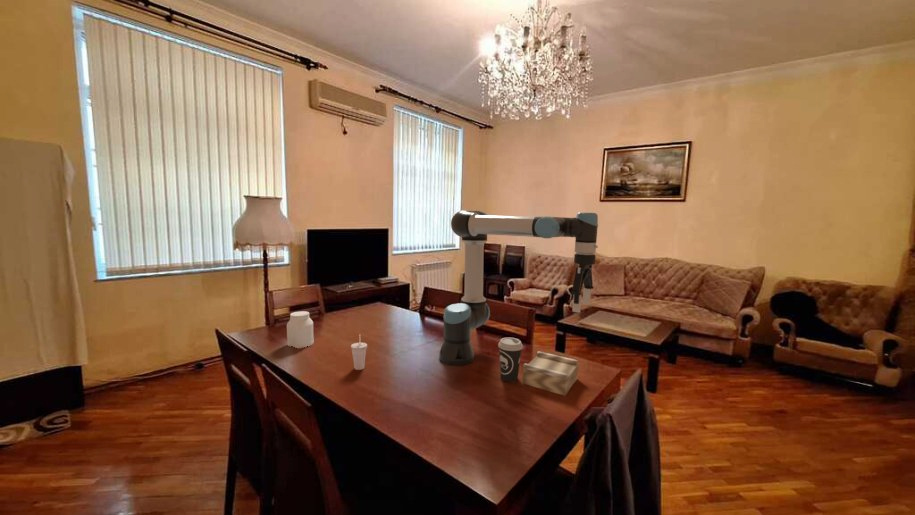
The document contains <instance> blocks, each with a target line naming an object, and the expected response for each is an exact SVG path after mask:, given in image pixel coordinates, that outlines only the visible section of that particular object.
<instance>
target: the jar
mask: <svg viewBox="0 0 915 515" xmlns="http://www.w3.org/2000/svg"><path fill="white" fill-rule="evenodd" d="M289 318H290V319H289V320H288V322H287V324H286V336H287V337H286V338H287V339H286V340H287V343H286V344H287V345H288V347H291V346H293V347H292V348H294V347H295V349H296V348H297V349H303V348H302V347H305V348H308V347H311V346H312V345H314V342H315V340H314V321H313V320H312V318H310V312H309V311H306V310H304V311H302V310H301V311H294V312H291V313H290V314H289ZM310 345H311V346H310ZM307 346H308V347H307Z"/></svg>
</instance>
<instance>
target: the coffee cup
mask: <svg viewBox="0 0 915 515" xmlns="http://www.w3.org/2000/svg"><path fill="white" fill-rule="evenodd" d="M497 344H498V345H497V347H498V350H499V352H498V353H499V369H500V370H499V372H500V379H501V381H503V382H507V383H514V382H517V381H518V379H519V371H520V364H521V363H520V362H521V354H522V350H523V349H524V345H523V344H522V341H521V340H520V339H519V338H515V337H503V338H500V340H499V342H498V343H497Z"/></svg>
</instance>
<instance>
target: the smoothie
mask: <svg viewBox="0 0 915 515" xmlns="http://www.w3.org/2000/svg"><path fill="white" fill-rule="evenodd" d="M358 336H359V337H358V339H359V342H354V343H352V344H351V345H350V349H351V353H352V359H353V366H354V370H356V371H361V370H364V369H365V363H366V354H367V348H368V344H367V343H366V342H362V341H361V339H362V338H361V337H362V336H361V333H360V334H359V335H358Z"/></svg>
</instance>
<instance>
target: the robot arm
mask: <svg viewBox="0 0 915 515" xmlns="http://www.w3.org/2000/svg"><path fill="white" fill-rule="evenodd" d="M598 217H599V216H598V213H595V212H577V214H576V217H563V216H561V217H560V216H559V217H556V216H528V215H527V216H521V215H520V216H519V215H488V214H487V213H486V212H484V211H480V210H463V209H462V210H459V211H457V212H456V213H454V215H452V218H451V220H450V227H451V230H452V232H453V233H454V234H455V235H456V236H458V237H460V238H461V242H463V244H464V295H463V296H462V297H461V300H460V303H459V302H458V303H452V304H450V305H448V306H446V307H445V308H444V311H443V312H444V313H443V342H442V343H441V344H442V345H441V348H440V351H439V354H438V355H439V356H438V357H439V360H440V362H441V363H444V364H445V365H450V366H465V365H468V364H471V363H473V361H474V359H475V358H474V357H475V353H474V351H473V348H472V344H471V331H473V330H475V329H477V328H480V327H482V326H483V325H485V324H486V323H487V322H488V320H489V318H490V316H491V309H490V306H488V303H487V298H486V297H485V296H484V257H485V256H484V252H485V250H484V248H485V247H484V246H485V244H486V243H487V241H488V235H493V236H509V237H510V236H511V237H528V238H529V237H530V238H542V239H553V238H575V240H574V258H573V262H574V264H576V265H577V264H578V267H575V273H574V279H573V283H572V289H571V291H570V294H571V295H572V312H573V313H581V307H582V305H584V306H590V305H591V293H592V290H594V286H593V285H594V284H593V270H592V268H593V265H595V264H596V253H597V249H598V245H597V238H598V227H599V222H598V221H599V219H598ZM583 287H584V288H583ZM582 290H583V291H582Z"/></svg>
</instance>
